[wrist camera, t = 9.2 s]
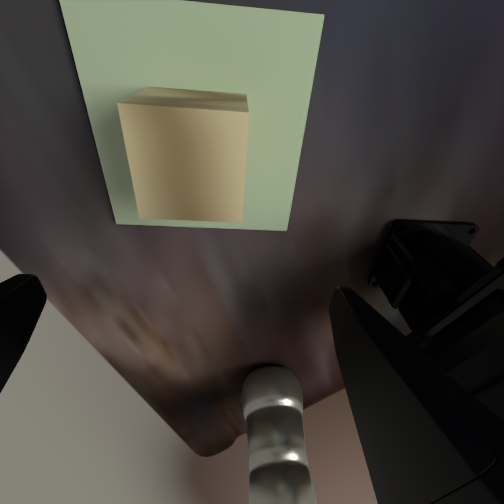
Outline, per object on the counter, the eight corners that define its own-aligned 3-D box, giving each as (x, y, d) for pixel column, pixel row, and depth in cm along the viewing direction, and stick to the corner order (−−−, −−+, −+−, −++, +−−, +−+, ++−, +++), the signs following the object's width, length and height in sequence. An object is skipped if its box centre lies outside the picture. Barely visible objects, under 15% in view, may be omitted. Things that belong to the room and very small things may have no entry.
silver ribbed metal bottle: (230, 369, 32) (222, 702, 16) (284, 350, 30) (337, 704, 14) (257, 393, 35) (272, 684, 19) (306, 377, 33) (369, 684, 17)
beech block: (246, 93, 15) (249, 112, 11) (241, 182, 18) (242, 222, 14) (150, 86, 14) (116, 102, 10) (162, 178, 17) (139, 218, 13)
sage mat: (322, 15, 13) (324, 14, 13) (286, 228, 20) (286, 230, 20) (60, -12, 12) (55, -13, 12) (118, 220, 20) (116, 223, 19)
